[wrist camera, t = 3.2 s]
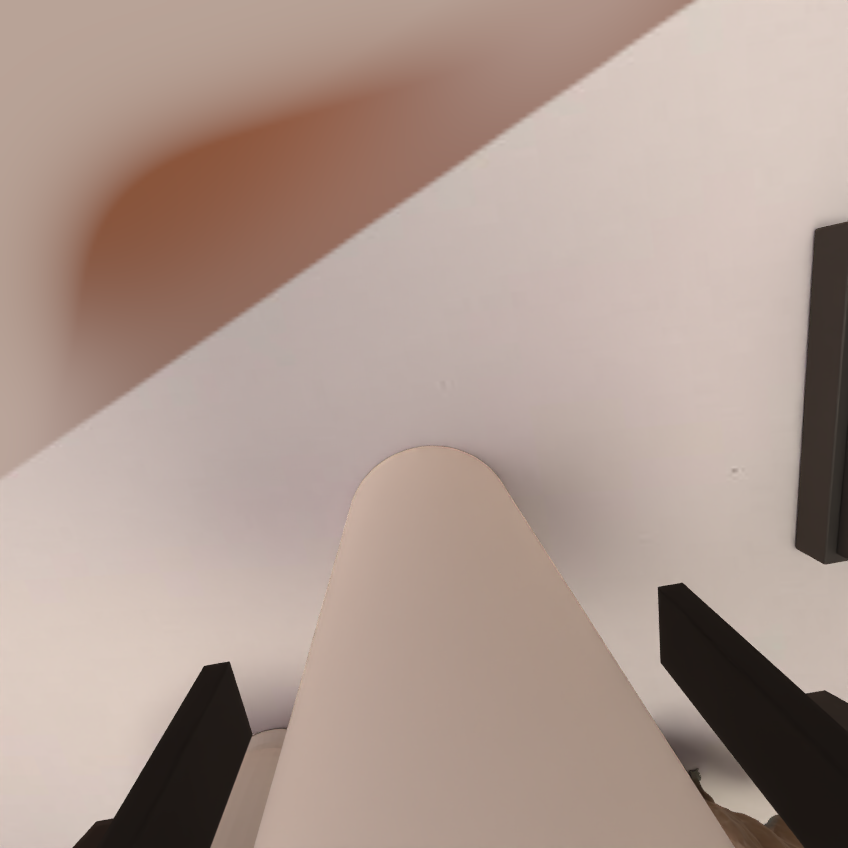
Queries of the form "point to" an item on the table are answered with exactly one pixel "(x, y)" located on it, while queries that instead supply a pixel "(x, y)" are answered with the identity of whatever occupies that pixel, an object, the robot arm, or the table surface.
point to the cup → (466, 690)
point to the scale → (826, 405)
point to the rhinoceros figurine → (749, 826)
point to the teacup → (250, 792)
